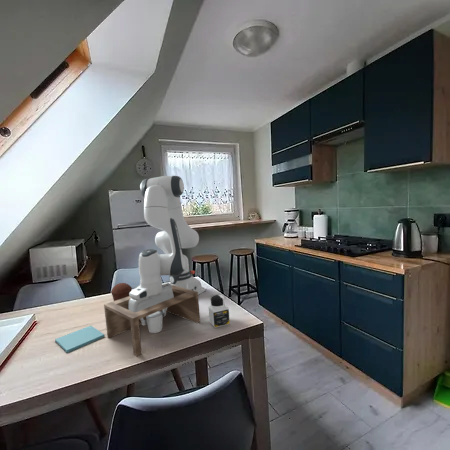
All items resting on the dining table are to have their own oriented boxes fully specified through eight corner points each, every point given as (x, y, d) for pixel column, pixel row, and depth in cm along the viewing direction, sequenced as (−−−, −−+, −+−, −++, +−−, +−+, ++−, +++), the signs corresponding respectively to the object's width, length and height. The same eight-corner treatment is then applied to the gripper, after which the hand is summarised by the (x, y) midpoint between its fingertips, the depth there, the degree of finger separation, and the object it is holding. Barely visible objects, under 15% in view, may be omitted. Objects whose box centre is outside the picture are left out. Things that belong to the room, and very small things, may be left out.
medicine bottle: (214, 328, 106) (212, 300, 105) (209, 321, 113) (207, 295, 112) (229, 324, 109) (228, 297, 108) (223, 317, 116) (222, 292, 115)
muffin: (112, 299, 150) (110, 282, 149) (132, 295, 154) (130, 279, 153) (111, 306, 139) (110, 288, 138) (133, 302, 143) (131, 285, 142)
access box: (168, 310, 128) (166, 283, 127) (200, 322, 113) (197, 291, 111) (107, 337, 105) (104, 304, 103) (136, 356, 89) (132, 318, 88)
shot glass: (153, 335, 104) (152, 318, 103) (143, 331, 108) (142, 315, 107) (167, 328, 109) (165, 312, 109) (157, 324, 113) (155, 309, 113)
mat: (91, 327, 114) (90, 325, 114) (104, 336, 105) (104, 334, 105) (55, 341, 104) (55, 339, 104) (66, 352, 95) (66, 350, 95)
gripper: (167, 281, 117) (169, 310, 118) (125, 294, 101) (128, 327, 102) (175, 283, 113) (178, 313, 113) (133, 296, 97) (136, 331, 98)
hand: (154, 320), depth 108 cm, fingers open, 8 cm apart
